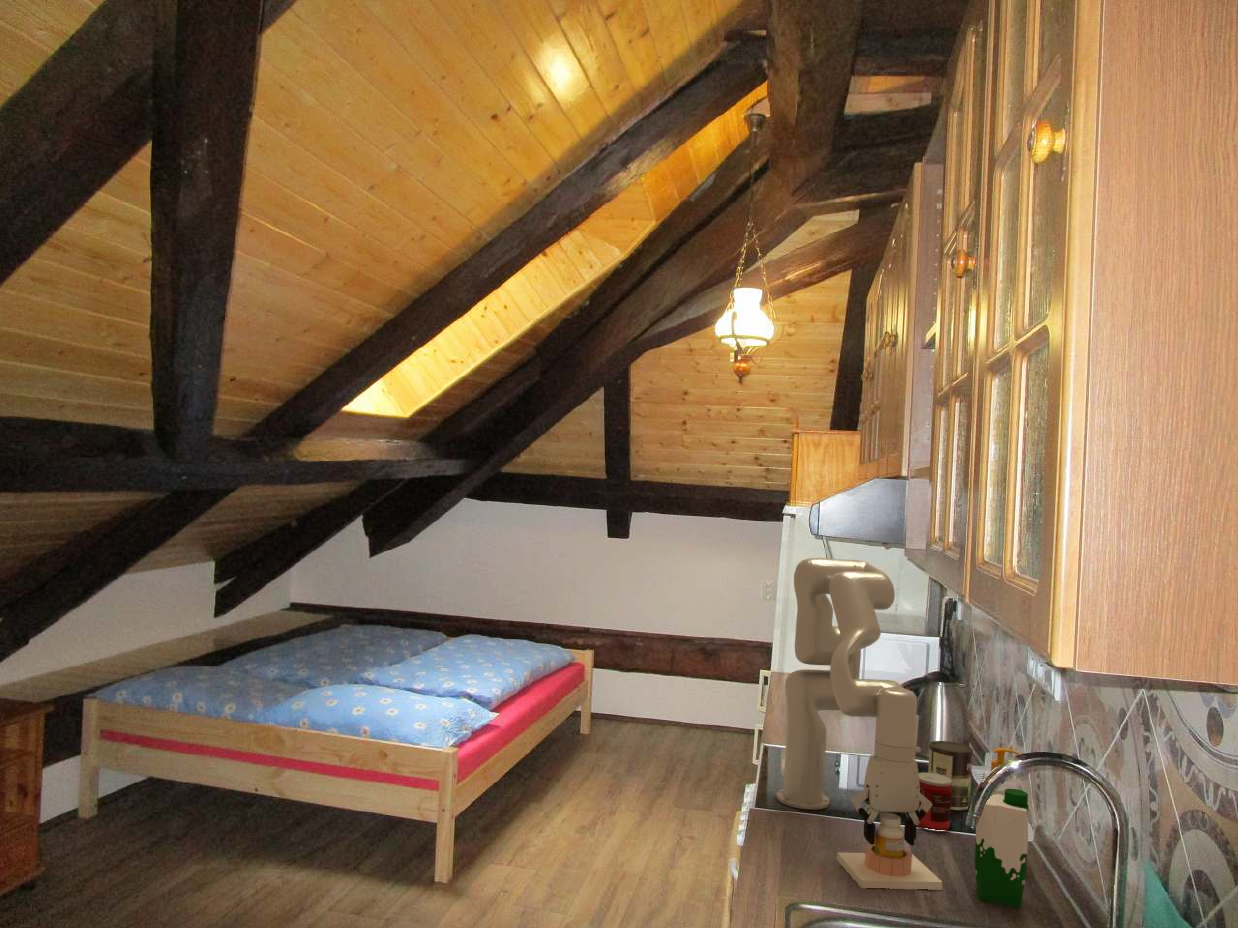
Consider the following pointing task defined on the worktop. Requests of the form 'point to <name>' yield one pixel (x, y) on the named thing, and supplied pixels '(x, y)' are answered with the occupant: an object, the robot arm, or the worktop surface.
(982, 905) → the worktop surface
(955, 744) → the coffee can
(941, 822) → the canned food
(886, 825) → the supplement bottle
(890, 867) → the bottle collar
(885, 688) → the robot arm
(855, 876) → the coaster board
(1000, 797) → the milk carton
